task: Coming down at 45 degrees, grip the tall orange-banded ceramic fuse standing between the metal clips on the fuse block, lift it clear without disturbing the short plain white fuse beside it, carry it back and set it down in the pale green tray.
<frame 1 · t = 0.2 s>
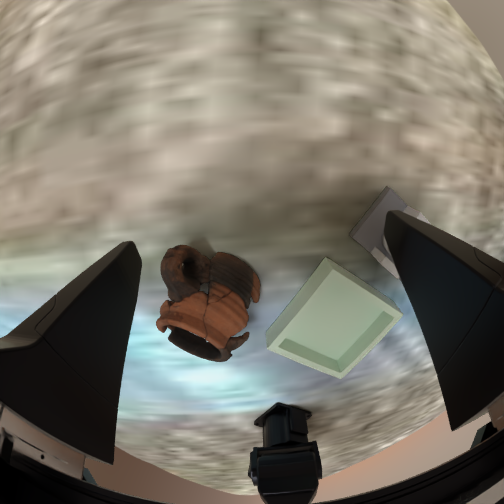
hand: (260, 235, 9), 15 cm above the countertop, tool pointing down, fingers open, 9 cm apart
tray: (332, 317, 29), on the countertop
pottery mug: (208, 284, 28), on the countertop
fuse block: (416, 258, 26), on the countertop
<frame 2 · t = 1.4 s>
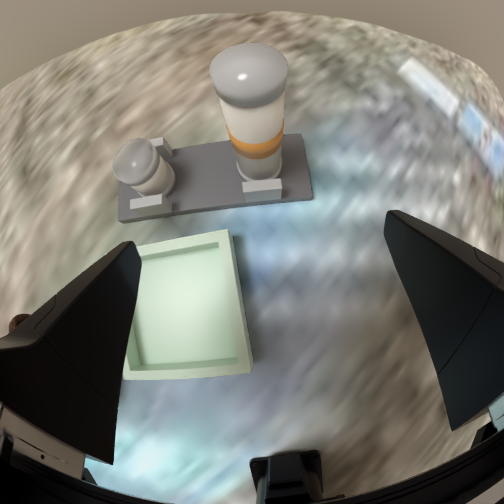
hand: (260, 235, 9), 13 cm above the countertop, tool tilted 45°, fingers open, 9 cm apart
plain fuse: (157, 182, 23), point 1 cm above the countertop, touching fuse block
banded fuse: (259, 166, 22), point 1 cm above the countertop, touching fuse block
tray: (180, 308, 22), on the countertop
fuse block: (209, 178, 24), on the countertop
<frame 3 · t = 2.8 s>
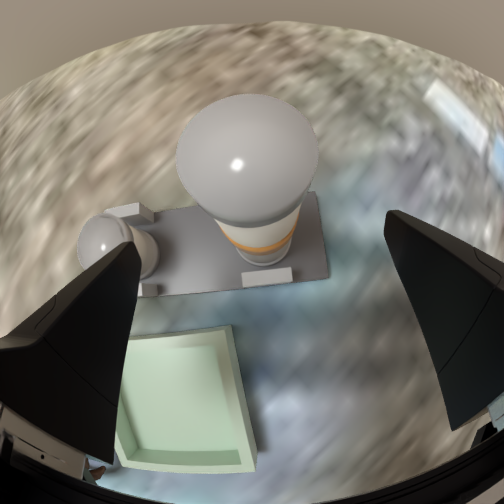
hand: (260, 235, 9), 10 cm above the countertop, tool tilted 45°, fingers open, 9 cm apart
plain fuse: (137, 255, 19), point 1 cm above the countertop, touching fuse block
banded fuse: (263, 239, 18), point 1 cm above the countertop, touching fuse block
tray: (175, 400, 18), on the countertop
fuse block: (200, 250, 20), on the countertop
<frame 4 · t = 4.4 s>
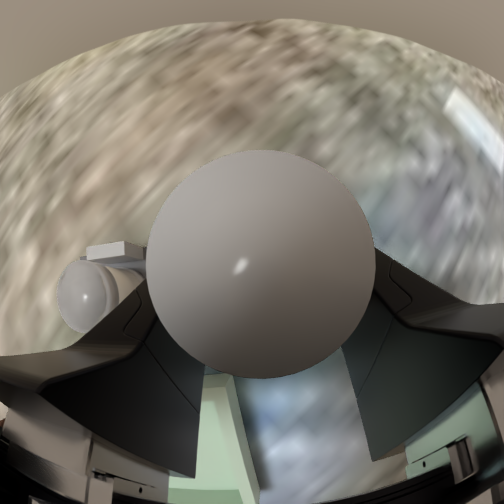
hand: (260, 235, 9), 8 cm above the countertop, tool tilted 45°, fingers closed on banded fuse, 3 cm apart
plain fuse: (127, 296, 16), point 1 cm above the countertop, touching fuse block
banded fuse: (267, 283, 16), point 1 cm above the countertop, touching fuse block, gripper
tray: (175, 442, 16), on the countertop
fuse block: (196, 291, 17), on the countertop
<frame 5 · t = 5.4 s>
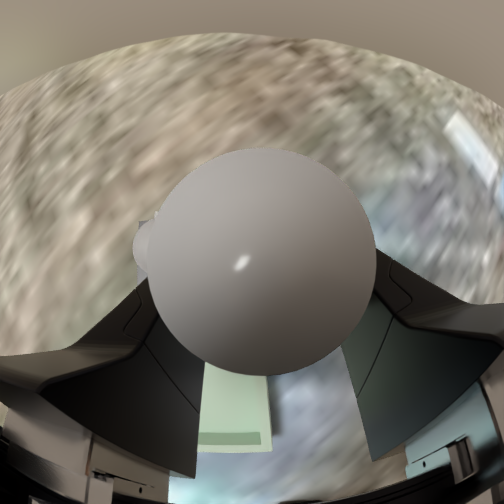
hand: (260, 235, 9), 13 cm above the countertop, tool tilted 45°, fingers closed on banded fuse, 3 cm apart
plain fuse: (181, 255, 22), point 1 cm above the countertop, touching fuse block
banded fuse: (268, 282, 16), point 6 cm above the countertop, touching gripper
tray: (204, 386, 21), on the countertop
when the fingers open (9 cm above the countertop, at t = 7.0 s): banded fuse drops 1 cm, resting on tray.
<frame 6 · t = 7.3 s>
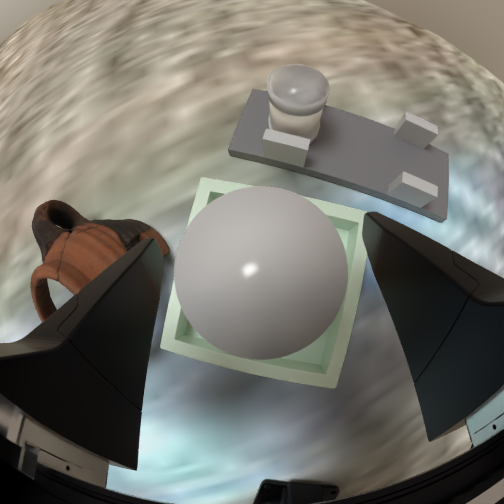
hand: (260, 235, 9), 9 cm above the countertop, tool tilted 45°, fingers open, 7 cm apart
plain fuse: (293, 128, 18), point 1 cm above the countertop, touching fuse block
banded fuse: (266, 284, 17), point 1 cm above the countertop, touching tray
tray: (268, 283, 18), on the countertop
pottery mug: (113, 275, 19), on the countertop
fuse block: (350, 151, 19), on the countertop
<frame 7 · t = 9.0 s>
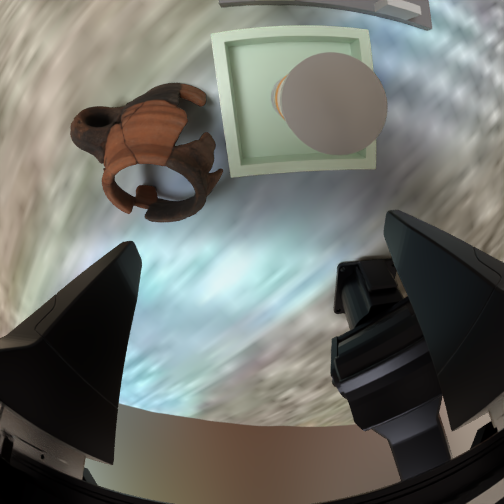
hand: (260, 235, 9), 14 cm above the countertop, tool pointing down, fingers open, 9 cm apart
banded fuse: (295, 98, 18), point 1 cm above the countertop, touching tray
tray: (295, 97, 18), on the countertop
pottery mug: (161, 137, 20), on the countertop
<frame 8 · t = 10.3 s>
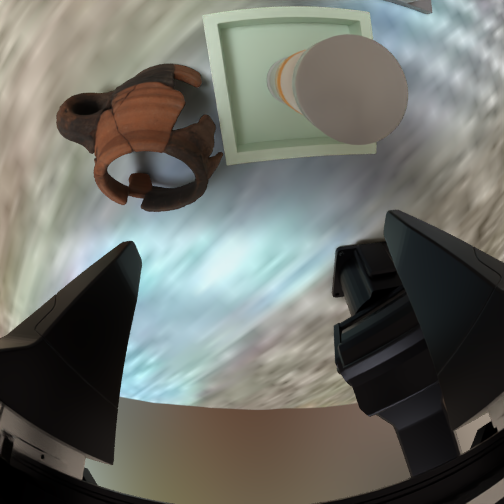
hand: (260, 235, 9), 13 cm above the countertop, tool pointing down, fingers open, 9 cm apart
banded fuse: (292, 80, 16), point 1 cm above the countertop, touching tray
tray: (292, 79, 17), on the countertop
pottery mug: (153, 121, 19), on the countertop
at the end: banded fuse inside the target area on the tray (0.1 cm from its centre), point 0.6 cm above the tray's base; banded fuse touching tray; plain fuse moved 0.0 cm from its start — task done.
